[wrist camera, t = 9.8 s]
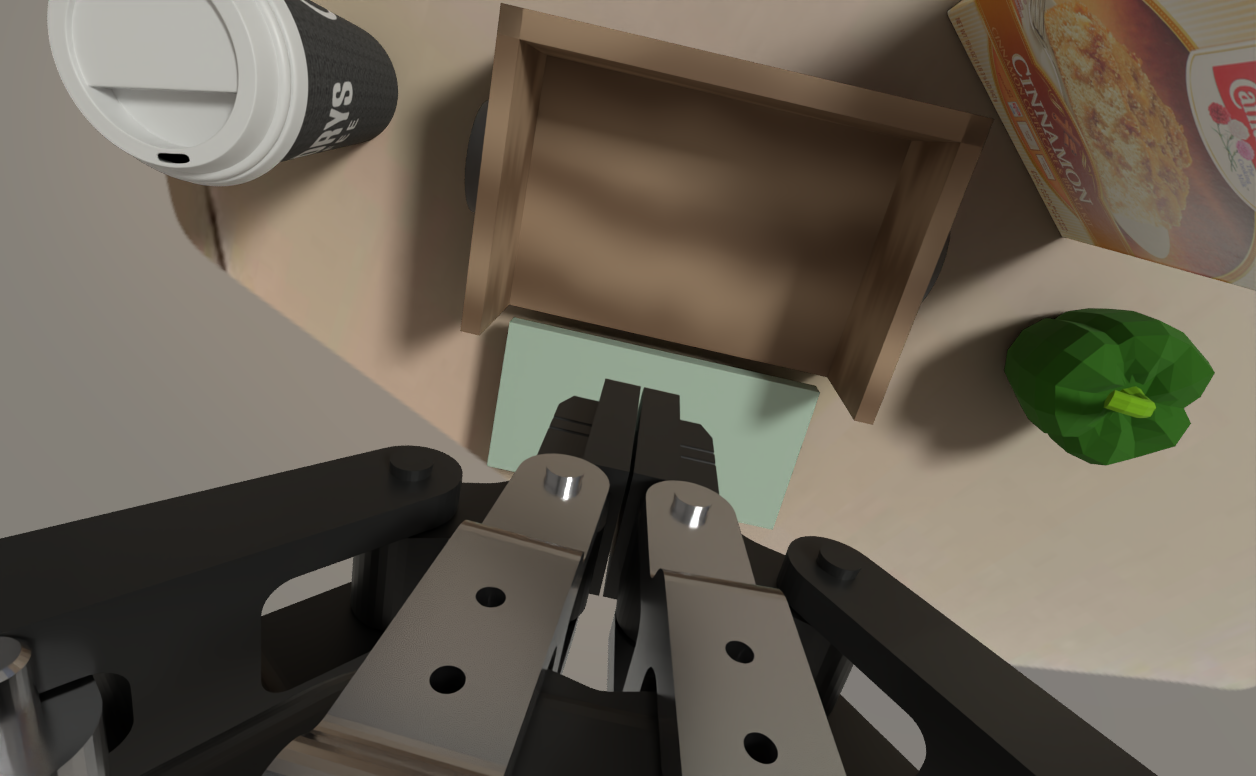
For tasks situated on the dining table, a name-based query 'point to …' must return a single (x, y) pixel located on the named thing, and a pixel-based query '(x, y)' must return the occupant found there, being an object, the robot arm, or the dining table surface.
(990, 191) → the dining table surface
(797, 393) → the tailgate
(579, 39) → the box
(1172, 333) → the bell pepper
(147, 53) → the coffee cup
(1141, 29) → the coffeecake box
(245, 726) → the robot arm
